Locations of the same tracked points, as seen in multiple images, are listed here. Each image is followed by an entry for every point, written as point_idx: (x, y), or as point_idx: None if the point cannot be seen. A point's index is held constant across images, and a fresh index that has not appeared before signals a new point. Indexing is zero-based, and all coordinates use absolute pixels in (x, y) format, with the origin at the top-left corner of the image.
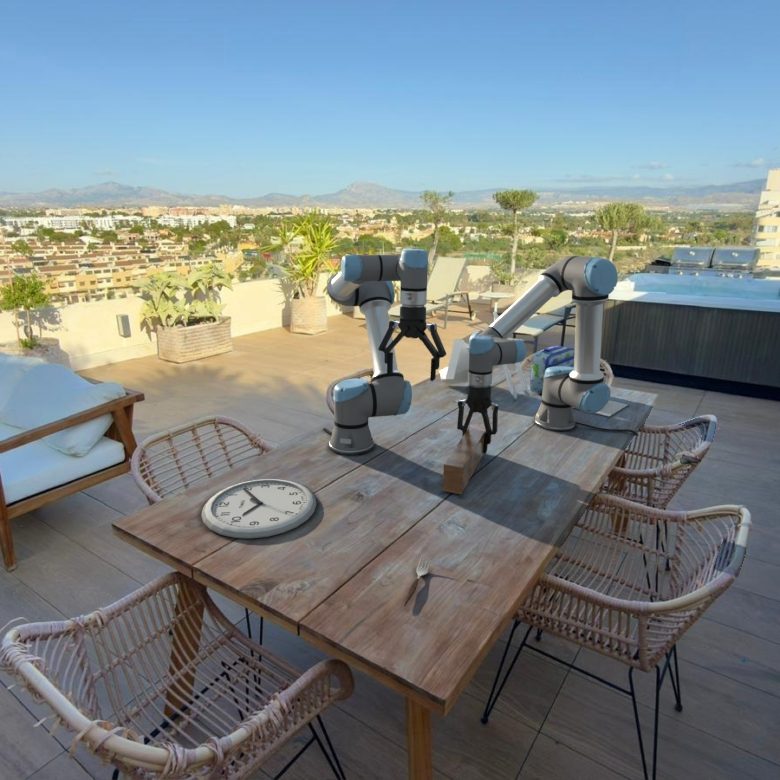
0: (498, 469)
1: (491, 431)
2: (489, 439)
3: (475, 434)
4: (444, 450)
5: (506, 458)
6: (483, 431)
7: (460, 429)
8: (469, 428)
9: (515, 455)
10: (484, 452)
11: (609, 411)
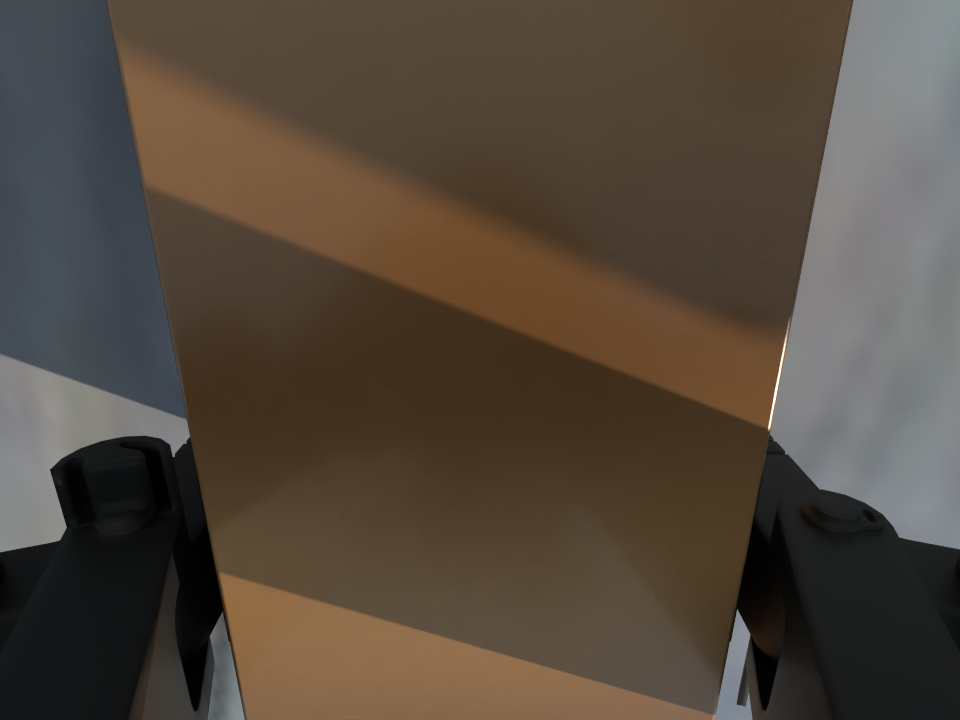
0: (52, 17)
1: (17, 605)
2: (185, 464)
3: (405, 180)
4: (906, 342)
5: (110, 413)
6: (241, 539)
7: (937, 550)
8: (705, 601)
9: (57, 524)
10: None
11: None
